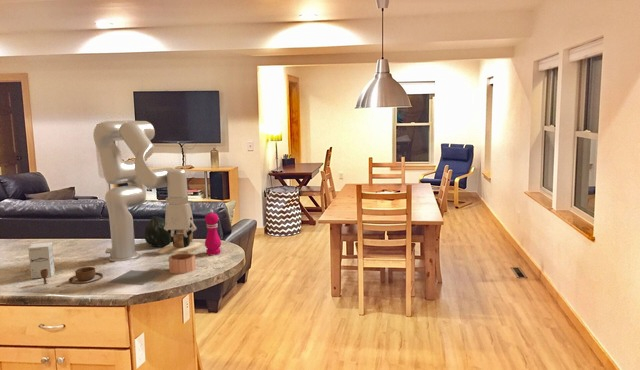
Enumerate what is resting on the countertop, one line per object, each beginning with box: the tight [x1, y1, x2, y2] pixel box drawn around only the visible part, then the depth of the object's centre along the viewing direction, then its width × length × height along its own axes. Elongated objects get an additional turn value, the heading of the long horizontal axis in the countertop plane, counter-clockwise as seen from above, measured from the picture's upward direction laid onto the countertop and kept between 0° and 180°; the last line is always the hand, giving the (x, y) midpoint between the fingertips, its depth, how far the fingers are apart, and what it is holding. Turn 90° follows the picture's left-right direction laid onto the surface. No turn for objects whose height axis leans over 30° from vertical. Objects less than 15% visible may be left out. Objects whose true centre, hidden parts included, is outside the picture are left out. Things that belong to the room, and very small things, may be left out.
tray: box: [106, 269, 165, 286], centre depth 195 cm, size 15×15×1 cm
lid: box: [157, 233, 205, 255], centre depth 202 cm, size 13×13×6 cm
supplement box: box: [27, 241, 56, 280], centre depth 201 cm, size 7×7×13 cm
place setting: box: [40, 266, 104, 288], centre depth 196 cm, size 18×20×6 cm
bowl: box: [168, 252, 196, 275], centre depth 203 cm, size 10×10×6 cm
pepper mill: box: [204, 209, 222, 256], centre depth 227 cm, size 7×7×20 cm
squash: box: [143, 216, 173, 248], centre depth 245 cm, size 14×15×15 cm
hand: (181, 245), depth 202 cm, fingers closed on lid, 4 cm apart
